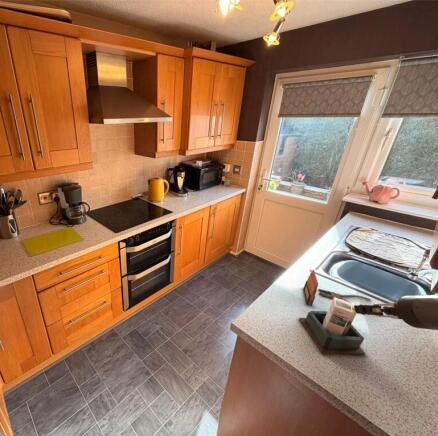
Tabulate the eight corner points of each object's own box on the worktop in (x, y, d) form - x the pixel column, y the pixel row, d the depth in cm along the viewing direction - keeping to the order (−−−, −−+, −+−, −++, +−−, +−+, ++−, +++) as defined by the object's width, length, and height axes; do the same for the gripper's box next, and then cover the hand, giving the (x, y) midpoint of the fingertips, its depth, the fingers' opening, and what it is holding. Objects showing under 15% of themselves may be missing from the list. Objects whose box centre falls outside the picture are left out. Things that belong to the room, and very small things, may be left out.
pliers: (383, 313, 92) (325, 303, 97) (382, 315, 93) (325, 305, 97) (369, 296, 101) (317, 288, 106) (368, 298, 101) (316, 289, 106)
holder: (335, 321, 90) (340, 309, 88) (364, 355, 78) (371, 343, 75) (298, 319, 91) (303, 308, 88) (321, 353, 78) (327, 341, 76)
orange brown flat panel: (303, 288, 107) (310, 267, 102) (307, 290, 106) (315, 269, 101) (306, 304, 98) (315, 282, 93) (311, 306, 97) (320, 284, 92)
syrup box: (320, 336, 83) (334, 306, 77) (321, 325, 87) (334, 296, 81) (340, 344, 80) (356, 314, 74) (339, 332, 84) (355, 303, 78)
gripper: (458, 296, 54) (391, 297, 69) (395, 294, 54) (342, 295, 70) (472, 331, 51) (400, 324, 67) (406, 328, 52) (349, 322, 67)
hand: (370, 309), depth 68 cm, fingers open, 8 cm apart
